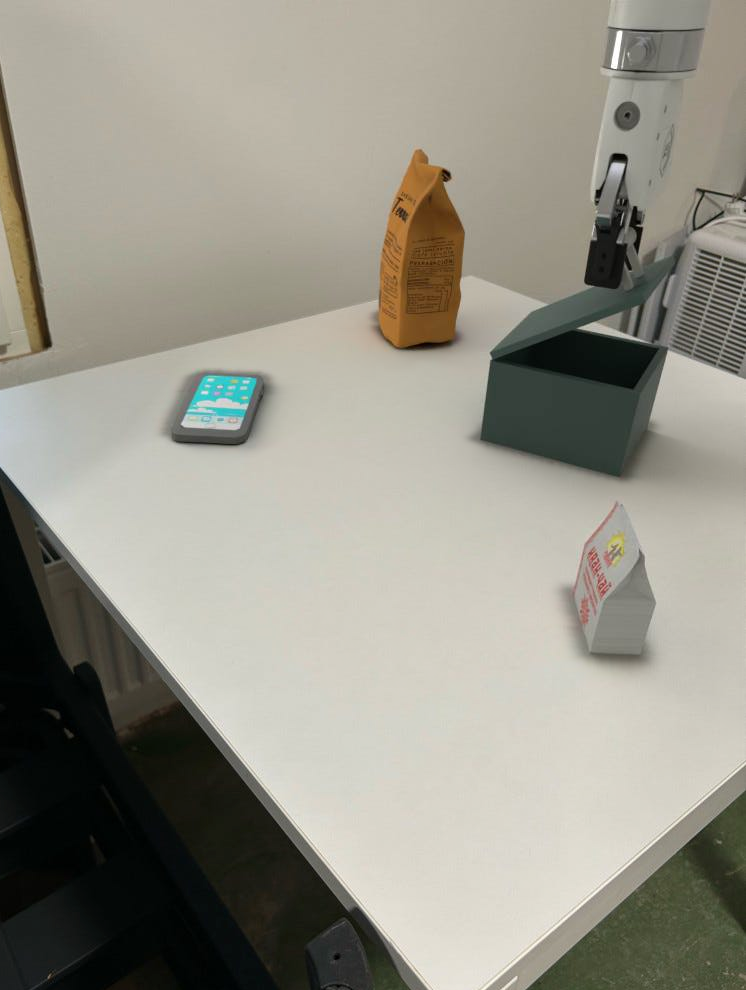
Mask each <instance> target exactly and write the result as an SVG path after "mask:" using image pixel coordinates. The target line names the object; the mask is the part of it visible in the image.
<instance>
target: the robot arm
mask: <svg viewBox="0 0 746 990" xmlns="http://www.w3.org/2000/svg"><path fill="white" fill-rule="evenodd" d="M712 1H713V0H611V1H610V6H609V13H608V18H607V24H606V25H607V27H606V30H605V36H604V37H605V38H604V44H603V50H602V57H601V64H600V65H601V66H600V71H599V73H600V75H602V76H605V77H610V80H609V85H608V89H607V94H606V99H605V102H604V105H603V107H604V108H603V113H602V119H601V123H600V129H599V134H598V139H597V144H596V150H595V156H594V162H593V168H592V174H591V180H590V181H591V182H590V191H589V200H590V202H591V203H592V205H594V206H595V207H596V210H595V220H594V224H593V228H592V232H591V237H590V242H589V248H588V254H587V259H586V264H585V265H586V266H585V270H584V271H585V272H584V278H583V282H584V284H585V285H586V286H589V287H590V286H591V287H594V286H596V287H603V288H609V289H617V288H618V287H619V286H620V284H621V279H622V273H623V268H624V263H626V266H627V268H628V271H629V272H632V271H633V269H632V267H631V264H630V261H629V259H628V256H627V247H628V243H624V242H625V239H626V235H627V231H628V227H632V228H633V229H634V230H635V231H636V234H637V238H636V240H635V242H634V243H633V245H634V247H635V250H636V253H637V255H638V256H639V253H640V247H641V242H642V236H643V233H644V226H643V225H644V221H645V218H646V212H647V209H648V208H649V207H650V206H652V205H653V204H654V203H655V202H656V201H657V200H658V199H659V198H660V197H661V196H662V195H663V194H664V192H665V191H666V189H667V187H668V183H669V180H670V179H669V178H670V172H671V167H672V161H673V156H674V150H675V143H676V138H677V133H678V128H679V127H678V126H679V120H680V114H681V109H682V108H681V107H682V102H683V94H684V93H683V92H684V84H685V80H686V79H692V78H694V77H696V75H697V70H698V65H699V61H700V56H701V52H702V47H703V41H704V37H705V33H706V28H707V24H708V19H709V14H710V11H711V5H712Z"/></svg>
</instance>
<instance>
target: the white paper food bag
mask: <svg viewBox="0 0 746 990" xmlns="http://www.w3.org/2000/svg"><path fill="white" fill-rule="evenodd" d="M579 562H580V563H579V567H578V572H577V576H576V580H575V584H574V587H573V592H572V596H573V598H574V602H575V606H576V609H577V613H578V616H579V619H580V624H581V627H582V631H583V634H584V637H585V641H586V644H587V645H586V646H587V647H588V651H589V654H611V655H613V654H614V655H637V656H639V655H641V653H642V650H643V647H644V644H645V640H646V637H647V633H648V630H649V628H650V624H651V621H652V618H653V614H654V612H655V608H656V606H657V602H656V598H655V594H654V592H653V589H652V586H651V583H650V580H649V577H648V573H647V568H646V556H645V554H644V551H643V548H642V546H641V544H640V541H639V539H638V537H637V534H636V532H635V529H634V526H633V525H632V522H631V519H630V517H629V515H628V513H627V511H626V508H625V506H624V503H623V501H621V502H618V500H616V502H615V503H614V505H613V506H612V509H611V510H610V512H609V513H608V515H607V516H606V518H604V520H603V521H602V522H601V523H600V525H599V526H598V527H597V529H596V530H595V531H594V532H593V533H592V534H591V536H590V537H589V538H588V540H586V542H585V543H584V545H583V550H582V554H581V559H580V561H579Z"/></svg>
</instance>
